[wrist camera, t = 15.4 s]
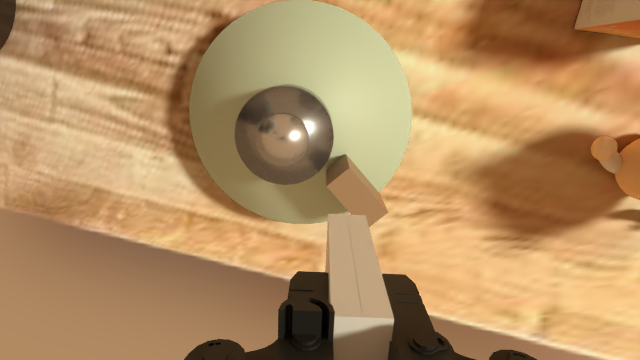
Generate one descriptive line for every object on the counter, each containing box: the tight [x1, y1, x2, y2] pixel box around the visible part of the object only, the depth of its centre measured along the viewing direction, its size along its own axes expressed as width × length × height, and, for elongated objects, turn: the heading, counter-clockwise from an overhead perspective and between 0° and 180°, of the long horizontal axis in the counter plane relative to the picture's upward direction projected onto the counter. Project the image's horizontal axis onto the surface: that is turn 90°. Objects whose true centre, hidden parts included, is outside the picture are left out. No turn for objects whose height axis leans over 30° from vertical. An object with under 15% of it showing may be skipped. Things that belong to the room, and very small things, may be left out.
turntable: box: [189, 0, 412, 227], centre depth 33 cm, size 20×20×7 cm
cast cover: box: [235, 84, 334, 185], centre depth 32 cm, size 8×8×6 cm
